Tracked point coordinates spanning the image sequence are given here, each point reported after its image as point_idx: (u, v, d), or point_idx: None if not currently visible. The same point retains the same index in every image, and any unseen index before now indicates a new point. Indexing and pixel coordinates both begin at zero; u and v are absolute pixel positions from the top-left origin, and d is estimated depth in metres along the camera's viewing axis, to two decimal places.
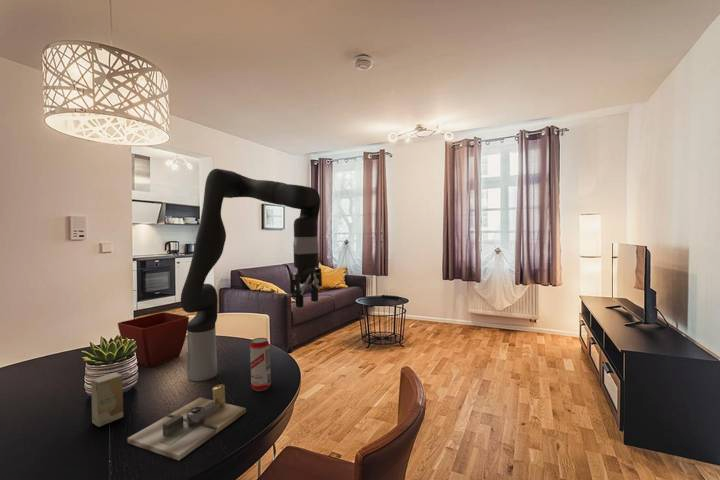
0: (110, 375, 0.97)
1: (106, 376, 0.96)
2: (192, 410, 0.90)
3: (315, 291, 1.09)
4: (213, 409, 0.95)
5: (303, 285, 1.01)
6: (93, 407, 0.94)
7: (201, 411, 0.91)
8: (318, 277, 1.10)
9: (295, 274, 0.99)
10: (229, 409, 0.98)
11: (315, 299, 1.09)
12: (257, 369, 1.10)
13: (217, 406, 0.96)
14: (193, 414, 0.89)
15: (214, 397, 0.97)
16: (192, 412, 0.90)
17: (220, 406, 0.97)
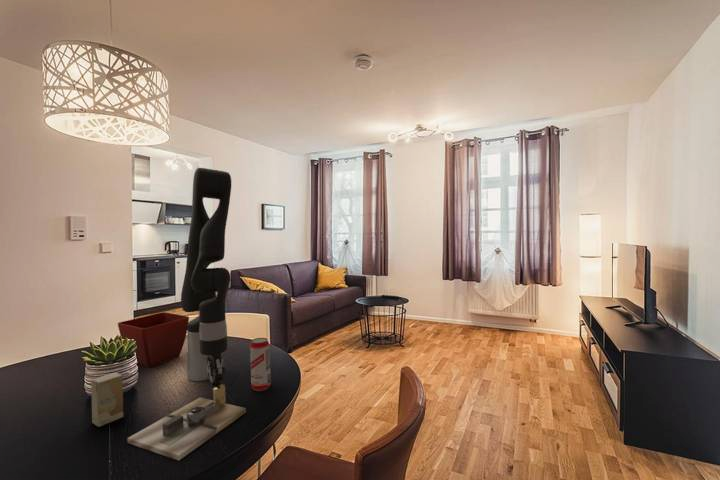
0: (110, 375, 0.97)
1: (106, 376, 0.96)
2: (192, 410, 0.90)
3: None
4: (213, 409, 0.95)
5: None
6: (93, 407, 0.94)
7: (201, 411, 0.91)
8: None
9: None
10: (229, 409, 0.98)
11: None
12: (257, 369, 1.10)
13: (217, 406, 0.96)
14: (193, 414, 0.89)
15: (214, 397, 0.97)
16: (192, 412, 0.90)
17: (220, 406, 0.97)
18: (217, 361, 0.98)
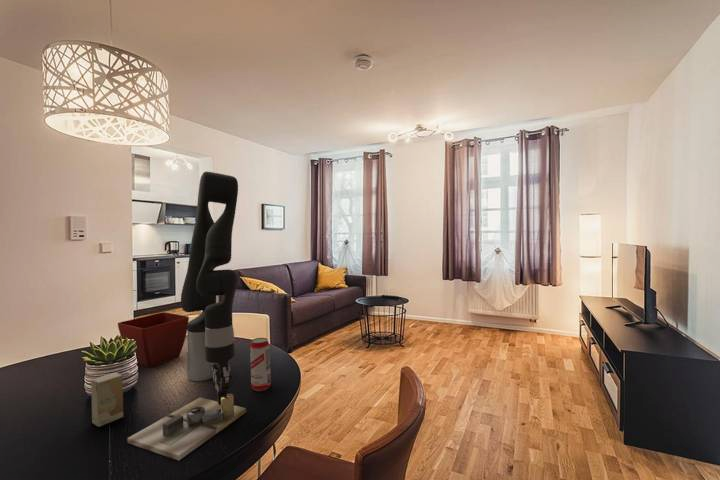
0: (110, 375, 0.97)
1: (106, 376, 0.96)
2: (193, 409, 0.91)
3: None
4: (213, 417, 0.91)
5: None
6: (93, 407, 0.94)
7: (195, 414, 0.89)
8: None
9: None
10: None
11: None
12: (257, 369, 1.10)
13: (219, 416, 0.91)
14: (189, 413, 0.90)
15: None
16: (190, 411, 0.91)
17: (223, 417, 0.91)
18: (224, 369, 0.92)
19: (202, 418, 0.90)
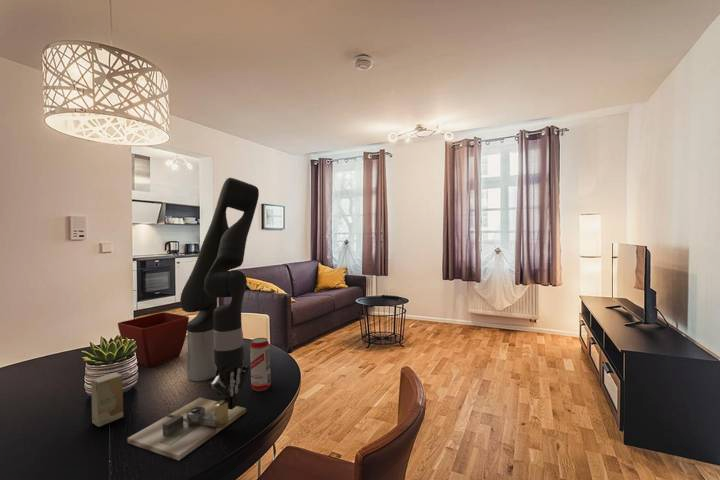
0: (110, 375, 0.97)
1: (106, 376, 0.96)
2: (194, 408, 0.91)
3: None
4: (207, 422, 0.89)
5: None
6: (93, 407, 0.94)
7: (192, 414, 0.89)
8: None
9: None
10: (229, 409, 0.98)
11: None
12: (257, 369, 1.10)
13: (212, 422, 0.88)
14: (188, 412, 0.90)
15: None
16: None
17: (215, 424, 0.88)
18: (218, 374, 0.89)
19: (198, 420, 0.89)
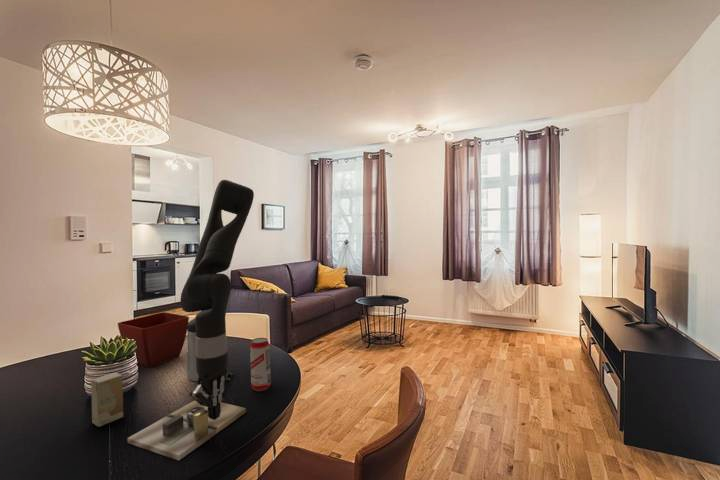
0: (110, 375, 0.97)
1: (106, 376, 0.96)
2: (196, 407, 0.92)
3: None
4: (193, 427, 0.86)
5: None
6: (93, 407, 0.94)
7: (189, 413, 0.90)
8: None
9: None
10: (229, 409, 0.98)
11: None
12: (257, 369, 1.10)
13: None
14: None
15: None
16: None
17: None
18: (200, 383, 0.84)
19: (191, 421, 0.89)
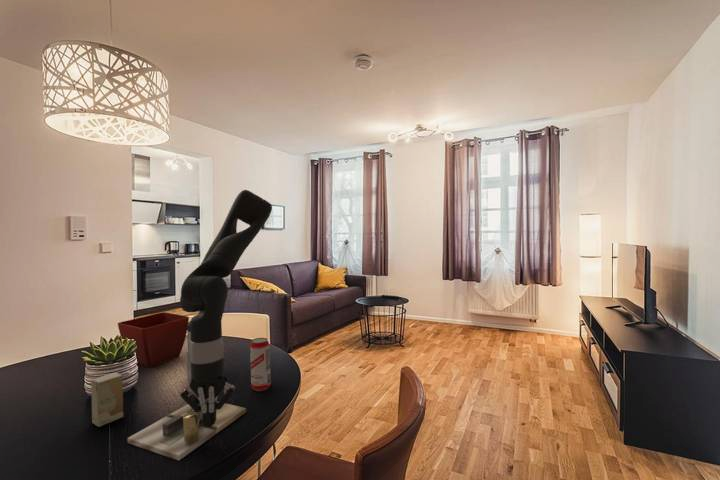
0: (110, 375, 0.97)
1: (106, 376, 0.96)
2: None
3: None
4: None
5: (217, 396, 0.86)
6: (93, 407, 0.94)
7: (188, 412, 0.90)
8: (194, 396, 0.85)
9: (234, 388, 0.86)
10: (229, 409, 0.98)
11: None
12: (257, 369, 1.10)
13: None
14: None
15: None
16: None
17: None
18: None
19: None
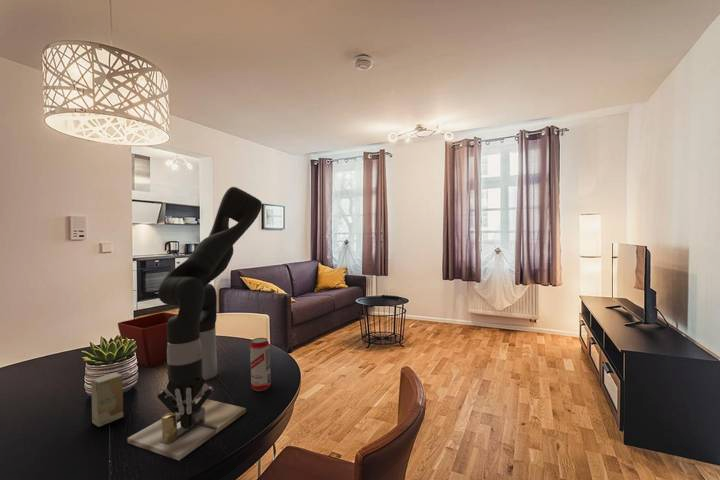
0: (110, 375, 0.97)
1: (106, 376, 0.96)
2: None
3: None
4: None
5: (195, 398, 0.85)
6: (93, 407, 0.94)
7: None
8: (172, 397, 0.84)
9: (212, 389, 0.85)
10: (229, 409, 0.98)
11: None
12: (257, 369, 1.10)
13: None
14: None
15: None
16: None
17: None
18: None
19: None
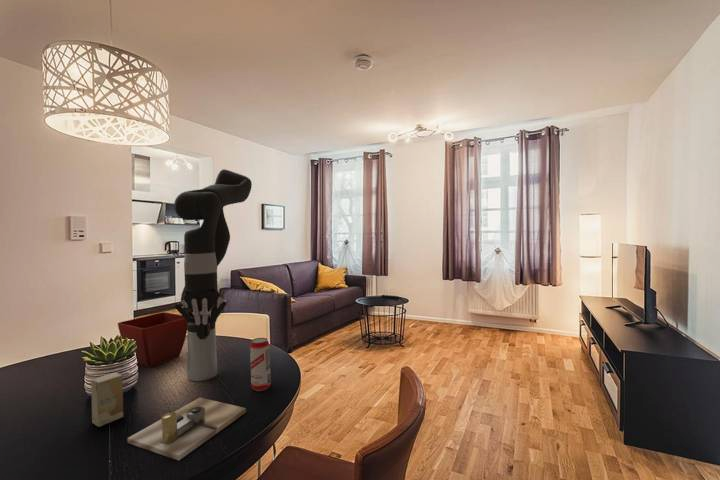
0: (110, 375, 0.97)
1: (106, 376, 0.96)
2: (198, 408, 0.91)
3: None
4: None
5: (210, 311, 0.89)
6: (93, 407, 0.94)
7: (190, 410, 0.91)
8: (188, 310, 0.87)
9: (227, 303, 0.88)
10: (229, 409, 0.98)
11: None
12: (257, 369, 1.10)
13: None
14: None
15: None
16: None
17: None
18: None
19: None
